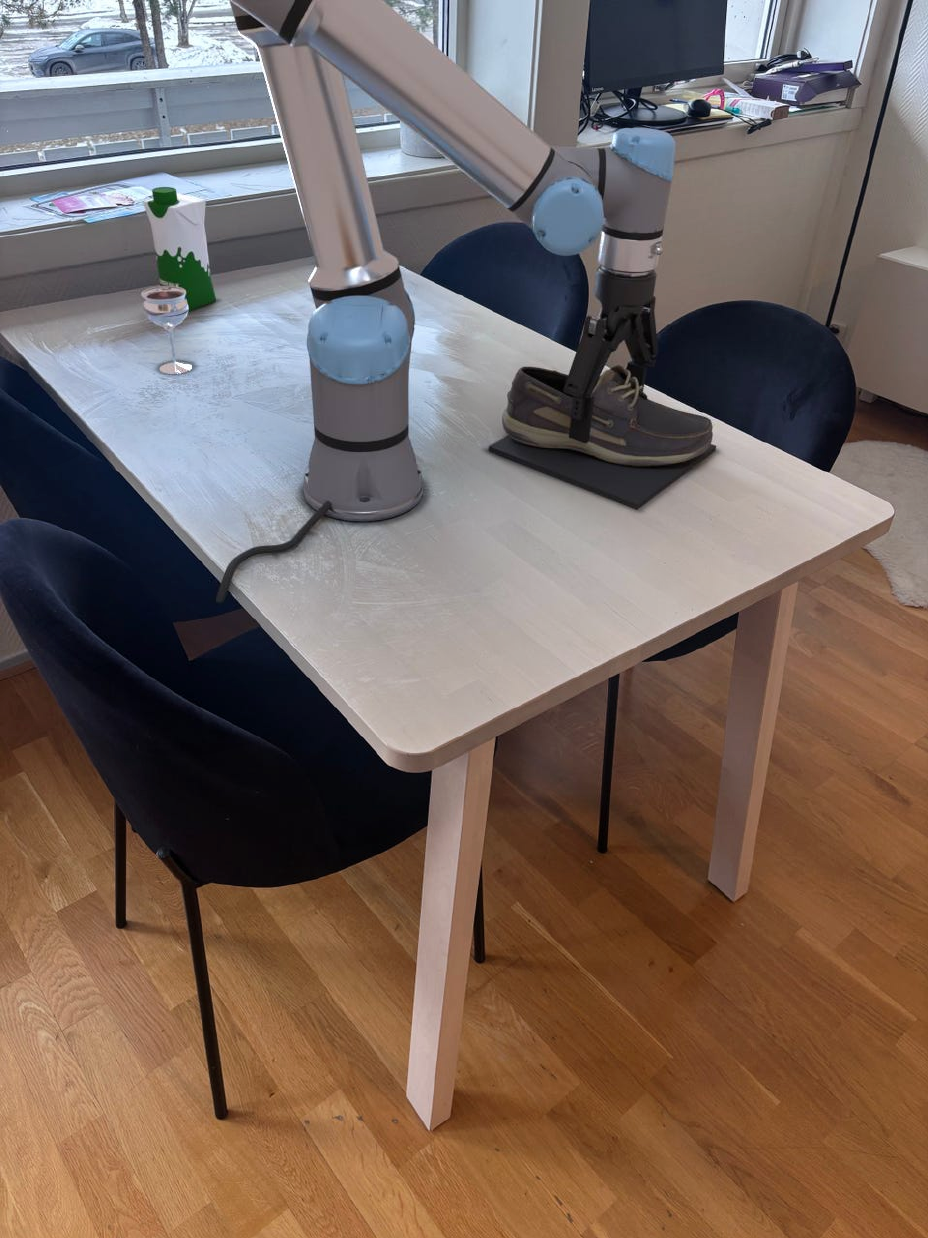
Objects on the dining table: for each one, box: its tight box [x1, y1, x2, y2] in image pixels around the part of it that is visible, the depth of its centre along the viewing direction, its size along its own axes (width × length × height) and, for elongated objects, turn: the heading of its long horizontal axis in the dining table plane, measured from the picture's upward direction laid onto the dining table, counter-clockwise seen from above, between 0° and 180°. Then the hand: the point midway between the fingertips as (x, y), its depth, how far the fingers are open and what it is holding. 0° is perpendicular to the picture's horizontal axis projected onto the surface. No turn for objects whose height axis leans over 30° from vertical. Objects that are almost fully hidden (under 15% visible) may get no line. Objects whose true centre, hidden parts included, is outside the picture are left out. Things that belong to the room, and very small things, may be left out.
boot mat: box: [488, 435, 717, 510], centre depth 135 cm, size 22×24×1 cm
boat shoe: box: [501, 364, 714, 466], centre depth 131 cm, size 11×29×11 cm, turn 78°
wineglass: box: [140, 285, 192, 375], centre depth 150 cm, size 7×7×12 cm
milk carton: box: [142, 186, 217, 312], centre depth 172 cm, size 9×9×20 cm
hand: (605, 423), depth 132 cm, fingers open, 13 cm apart
